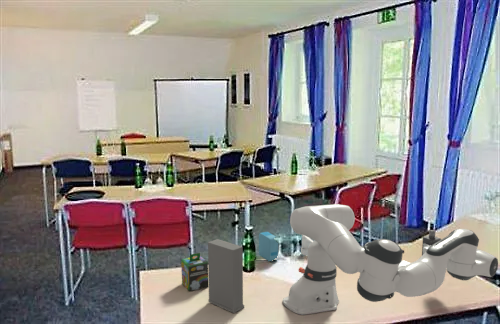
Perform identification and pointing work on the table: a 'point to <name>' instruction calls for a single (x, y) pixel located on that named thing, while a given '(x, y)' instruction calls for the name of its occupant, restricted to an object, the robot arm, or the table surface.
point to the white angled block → (305, 244)
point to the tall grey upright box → (225, 275)
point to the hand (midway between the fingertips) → (429, 243)
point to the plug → (430, 239)
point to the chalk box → (194, 272)
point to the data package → (268, 246)
